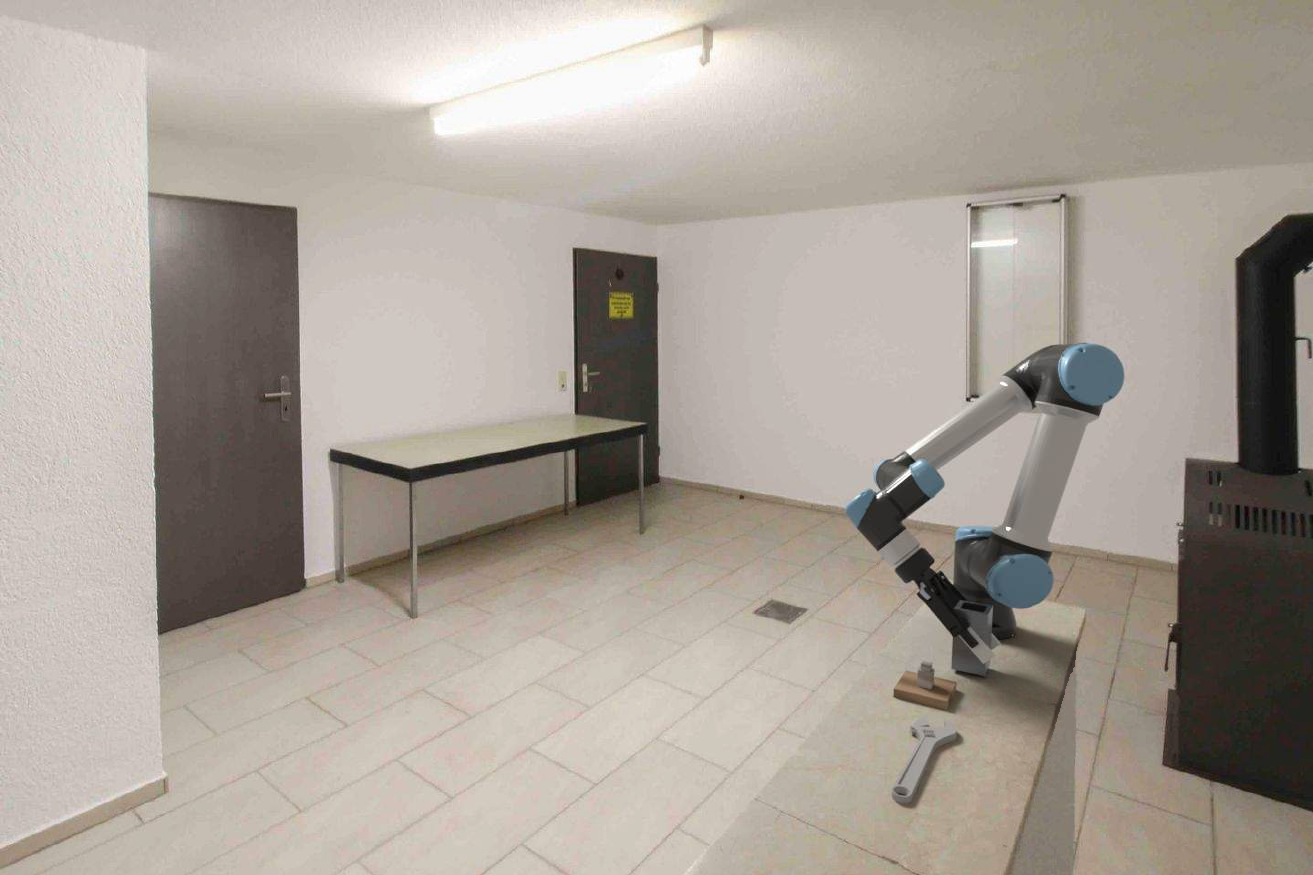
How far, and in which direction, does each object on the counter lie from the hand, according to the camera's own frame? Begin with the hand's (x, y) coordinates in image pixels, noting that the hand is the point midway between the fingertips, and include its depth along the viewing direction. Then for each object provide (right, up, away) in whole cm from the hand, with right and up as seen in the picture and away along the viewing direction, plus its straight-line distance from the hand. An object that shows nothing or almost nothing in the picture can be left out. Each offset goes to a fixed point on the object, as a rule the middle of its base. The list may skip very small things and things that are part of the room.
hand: (991, 653), depth 138 cm
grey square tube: (-3, -3, +2) cm, 5 cm away
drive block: (-16, -6, -8) cm, 18 cm away
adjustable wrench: (-25, -8, -29) cm, 39 cm away
